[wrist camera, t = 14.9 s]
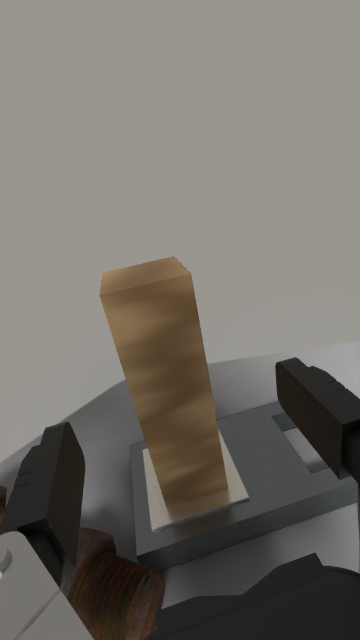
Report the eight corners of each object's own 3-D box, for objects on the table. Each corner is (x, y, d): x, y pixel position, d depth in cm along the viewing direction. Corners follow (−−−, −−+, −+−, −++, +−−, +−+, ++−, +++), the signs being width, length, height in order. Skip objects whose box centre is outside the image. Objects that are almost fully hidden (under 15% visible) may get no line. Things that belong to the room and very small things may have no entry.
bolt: (160, 670, 15) (-31, 564, 21) (184, 549, 18) (7, 485, 24) (101, 727, 11) (-121, 573, 17) (144, 554, 13) (-62, 473, 19)
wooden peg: (166, 507, 18) (99, 295, 13) (157, 456, 22) (102, 272, 16) (228, 487, 19) (190, 273, 13) (209, 440, 22) (174, 256, 17)
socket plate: (145, 575, 17) (135, 553, 16) (135, 463, 25) (128, 443, 24) (419, 480, 19) (424, 456, 18) (336, 402, 27) (336, 382, 26)
